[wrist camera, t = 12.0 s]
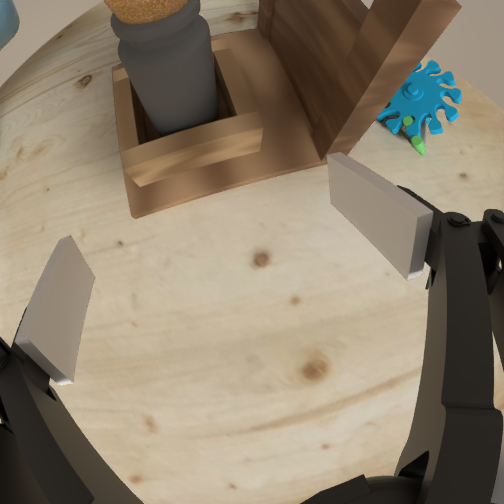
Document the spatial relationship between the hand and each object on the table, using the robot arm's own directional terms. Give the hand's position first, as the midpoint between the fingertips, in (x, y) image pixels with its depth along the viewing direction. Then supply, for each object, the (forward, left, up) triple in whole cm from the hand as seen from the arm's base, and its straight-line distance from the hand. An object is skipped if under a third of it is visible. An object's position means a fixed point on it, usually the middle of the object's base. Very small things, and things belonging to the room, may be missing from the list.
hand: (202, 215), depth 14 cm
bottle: (-6, +10, -10) cm, 15 cm away
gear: (+15, +18, -11) cm, 26 cm away
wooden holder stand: (-4, +13, -10) cm, 17 cm away
